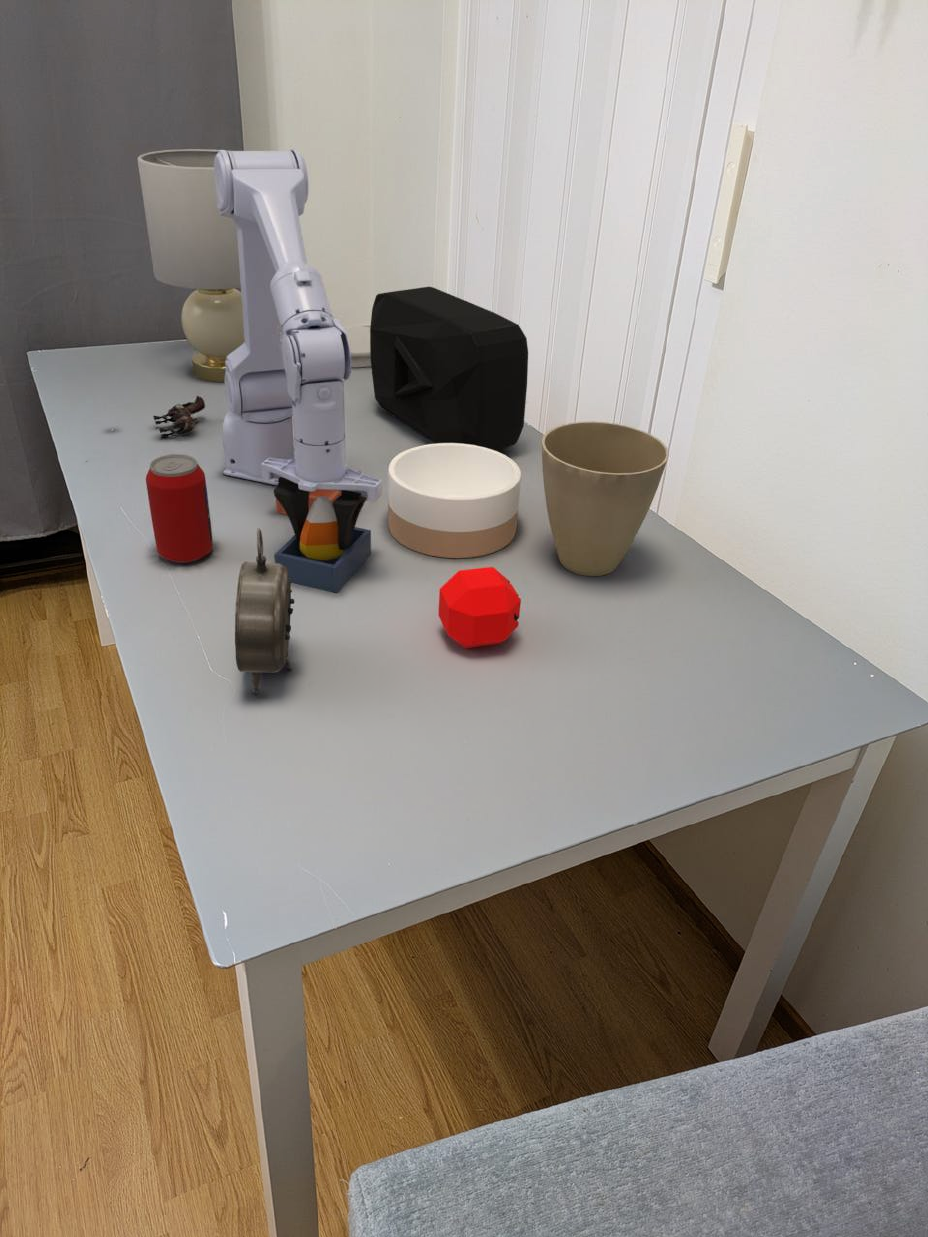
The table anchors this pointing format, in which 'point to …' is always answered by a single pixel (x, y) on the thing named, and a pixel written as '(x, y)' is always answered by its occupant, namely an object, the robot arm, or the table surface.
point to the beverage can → (179, 508)
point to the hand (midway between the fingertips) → (323, 541)
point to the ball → (479, 607)
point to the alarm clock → (262, 616)
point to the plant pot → (598, 490)
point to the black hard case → (449, 367)
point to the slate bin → (325, 563)
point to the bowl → (453, 499)
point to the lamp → (195, 252)
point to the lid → (359, 345)
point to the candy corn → (320, 532)
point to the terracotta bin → (329, 494)
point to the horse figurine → (181, 417)
